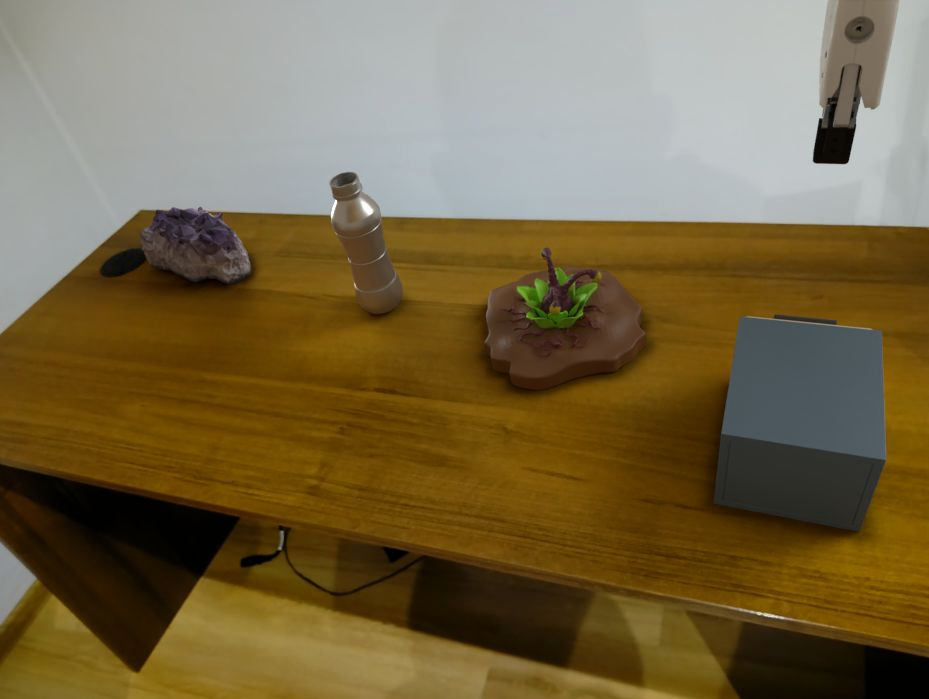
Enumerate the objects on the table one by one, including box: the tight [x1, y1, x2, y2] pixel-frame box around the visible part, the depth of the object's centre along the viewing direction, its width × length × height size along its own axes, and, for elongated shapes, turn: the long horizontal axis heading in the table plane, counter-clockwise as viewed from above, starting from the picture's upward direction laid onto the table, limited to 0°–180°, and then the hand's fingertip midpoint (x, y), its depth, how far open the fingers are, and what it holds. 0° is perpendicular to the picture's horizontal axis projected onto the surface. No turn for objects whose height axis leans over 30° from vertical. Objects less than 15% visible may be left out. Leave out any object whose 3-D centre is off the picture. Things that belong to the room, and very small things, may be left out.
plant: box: [483, 247, 647, 391], centre depth 87 cm, size 20×20×11 cm
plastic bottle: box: [328, 171, 404, 315], centre depth 94 cm, size 6×7×20 cm
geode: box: [139, 206, 253, 285], centre depth 114 cm, size 20×12×10 cm, turn 60°
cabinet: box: [713, 316, 887, 533], centre depth 68 cm, size 16×13×11 cm
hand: (830, 159), depth 71 cm, fingers closed
